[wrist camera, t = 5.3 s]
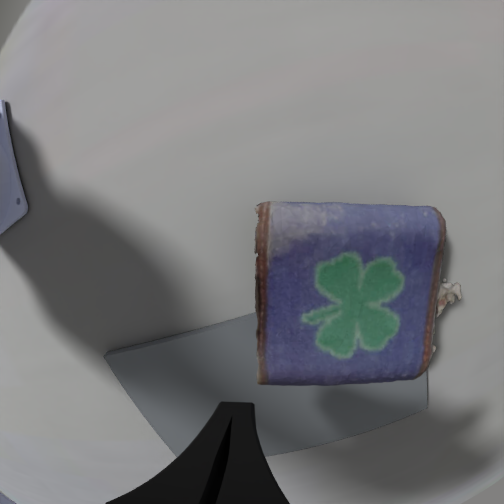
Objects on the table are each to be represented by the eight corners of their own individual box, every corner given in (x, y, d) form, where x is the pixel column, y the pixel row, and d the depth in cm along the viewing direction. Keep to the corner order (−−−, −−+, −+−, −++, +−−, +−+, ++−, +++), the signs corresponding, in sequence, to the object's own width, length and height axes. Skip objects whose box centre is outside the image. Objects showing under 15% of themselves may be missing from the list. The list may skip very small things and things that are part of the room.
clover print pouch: (253, 201, 12) (477, 209, 11) (258, 202, 15) (448, 208, 14) (255, 396, 14) (450, 382, 13) (259, 368, 17) (430, 359, 16)
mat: (107, 352, 18) (103, 356, 18) (408, 258, 15) (412, 261, 15) (185, 459, 21) (183, 464, 20) (424, 403, 18) (427, 407, 17)
